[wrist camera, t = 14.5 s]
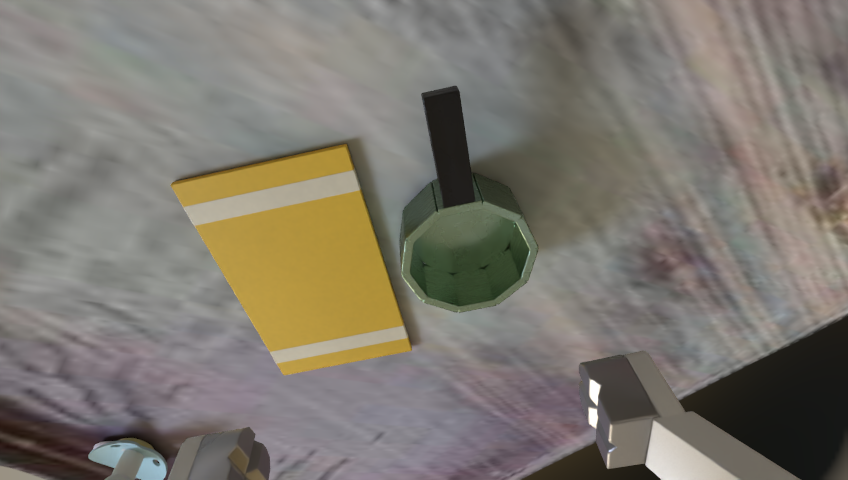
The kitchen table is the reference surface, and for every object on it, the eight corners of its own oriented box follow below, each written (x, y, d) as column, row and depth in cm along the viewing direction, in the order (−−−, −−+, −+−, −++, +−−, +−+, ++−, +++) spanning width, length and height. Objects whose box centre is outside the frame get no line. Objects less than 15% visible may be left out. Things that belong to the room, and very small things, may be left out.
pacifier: (150, 471, 49) (182, 450, 47) (121, 535, 44) (155, 515, 42) (83, 445, 46) (114, 421, 44) (44, 511, 41) (76, 488, 38)
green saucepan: (358, 90, 27) (354, 113, 24) (509, 57, 27) (528, 76, 23) (411, 283, 36) (414, 321, 33) (526, 261, 36) (541, 297, 32)
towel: (172, 181, 30) (169, 185, 30) (347, 143, 29) (346, 146, 29) (284, 371, 41) (283, 375, 41) (411, 346, 41) (412, 350, 40)
